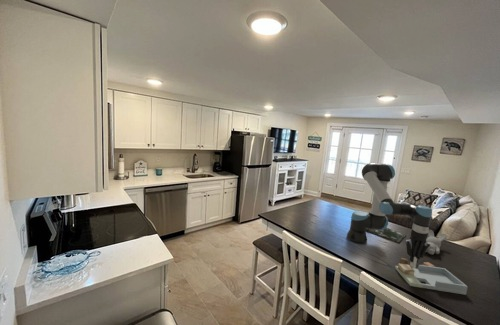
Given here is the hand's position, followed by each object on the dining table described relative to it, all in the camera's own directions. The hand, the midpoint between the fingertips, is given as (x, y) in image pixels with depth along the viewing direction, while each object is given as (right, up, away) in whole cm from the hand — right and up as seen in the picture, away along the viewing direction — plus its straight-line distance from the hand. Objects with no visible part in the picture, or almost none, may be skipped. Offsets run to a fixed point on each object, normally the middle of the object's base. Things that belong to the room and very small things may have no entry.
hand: (412, 266), depth 125 cm
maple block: (-4, -3, 0) cm, 5 cm away
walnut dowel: (+1, -4, +9) cm, 10 cm away
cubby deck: (+5, -6, -4) cm, 9 cm away
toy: (+43, -4, +35) cm, 56 cm away
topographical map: (+21, 0, +61) cm, 65 cm away
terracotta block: (+16, -6, +7) cm, 18 cm away
